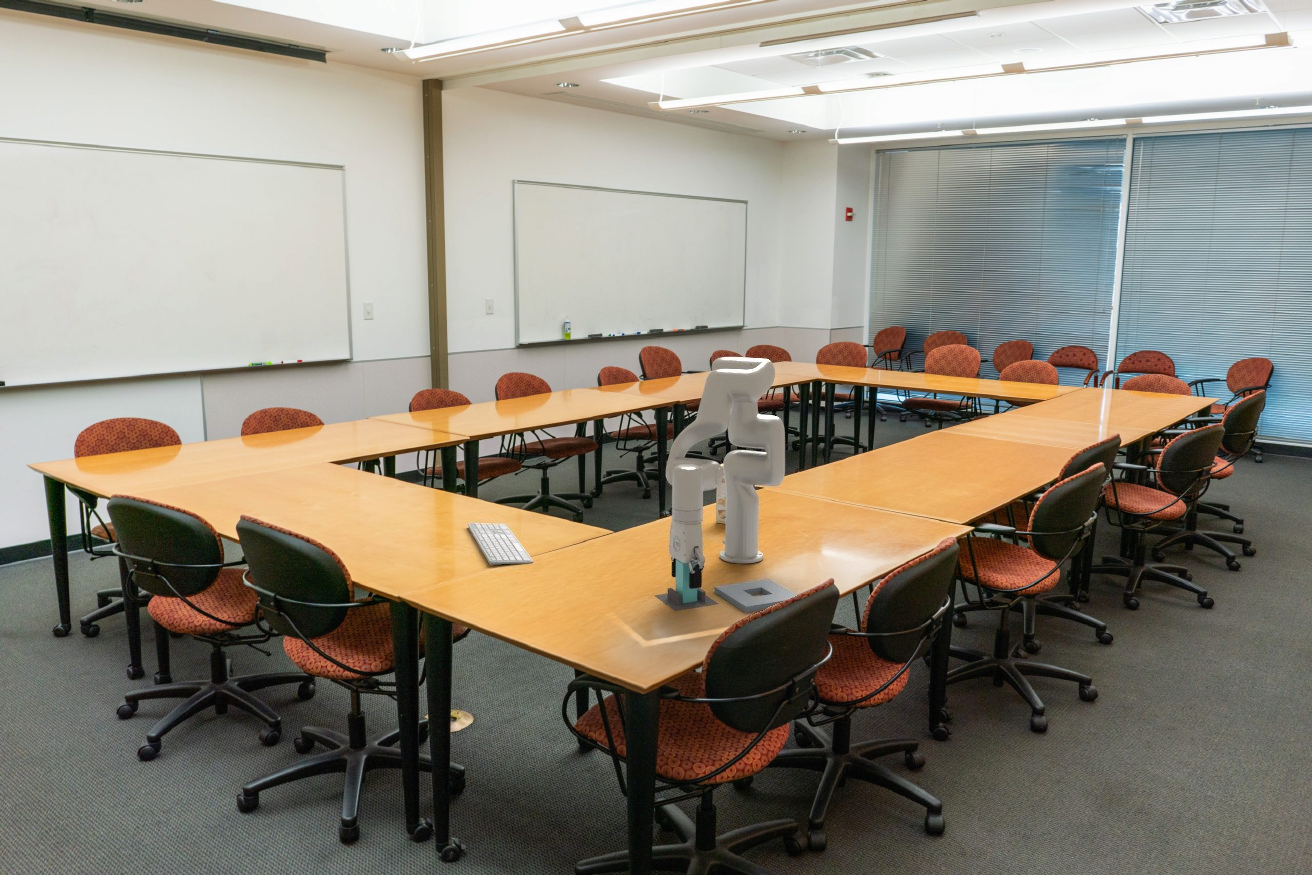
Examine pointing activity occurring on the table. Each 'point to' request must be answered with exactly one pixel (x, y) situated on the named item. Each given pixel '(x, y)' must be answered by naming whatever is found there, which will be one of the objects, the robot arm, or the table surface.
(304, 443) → the table surface
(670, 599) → the dark grey holder stand
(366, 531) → the table surface
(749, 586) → the plate
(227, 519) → the table surface
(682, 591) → the plug
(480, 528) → the keyboard
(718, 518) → the coffeecake box
